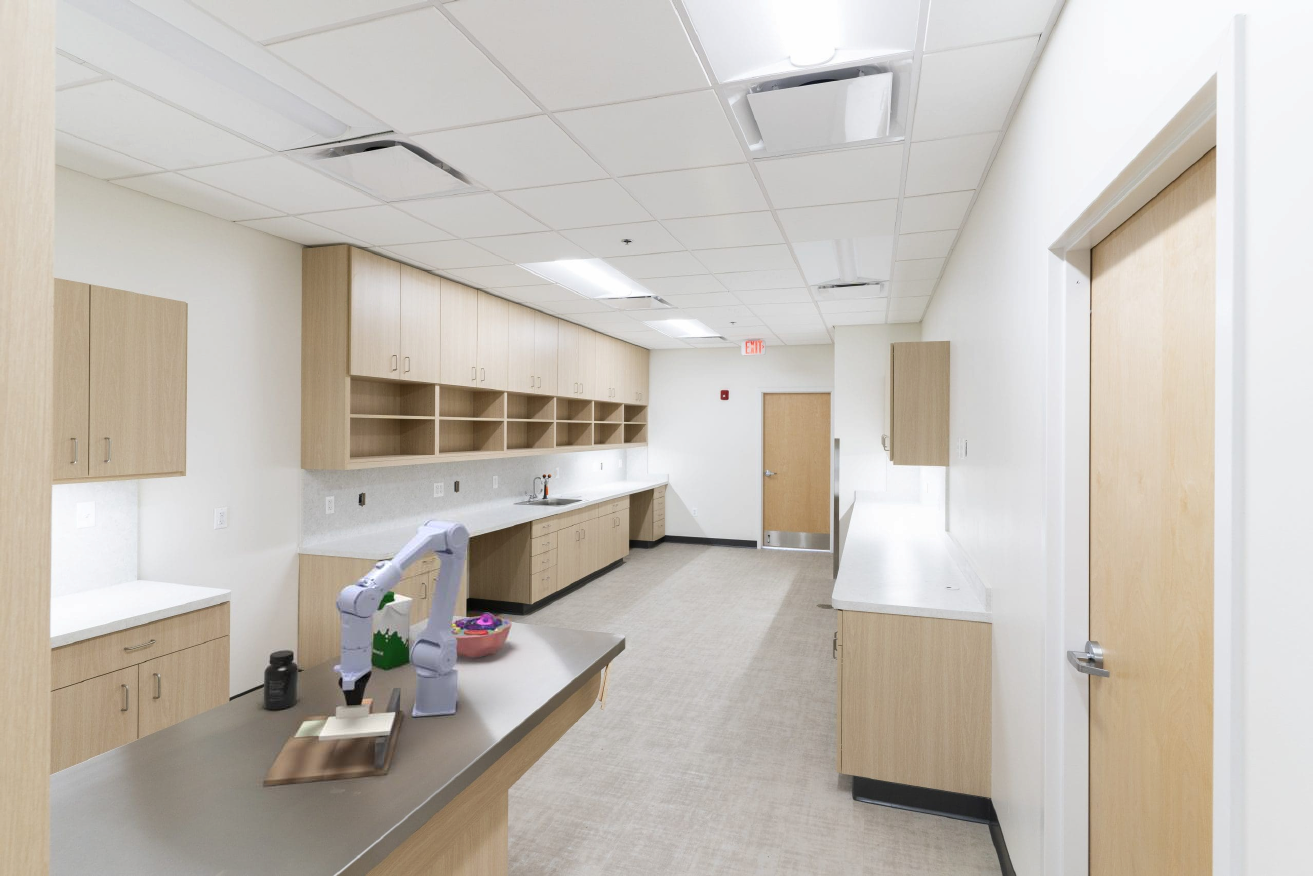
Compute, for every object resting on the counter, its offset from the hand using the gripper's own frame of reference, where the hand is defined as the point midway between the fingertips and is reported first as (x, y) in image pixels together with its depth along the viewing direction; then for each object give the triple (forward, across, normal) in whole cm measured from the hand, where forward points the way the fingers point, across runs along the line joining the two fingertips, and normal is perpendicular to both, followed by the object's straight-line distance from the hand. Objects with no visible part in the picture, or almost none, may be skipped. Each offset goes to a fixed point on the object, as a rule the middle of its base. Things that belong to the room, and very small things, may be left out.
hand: (354, 710), depth 130 cm
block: (+8, -8, 0) cm, 11 cm away
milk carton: (+8, -46, +1) cm, 47 cm away
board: (+8, -1, -2) cm, 8 cm away
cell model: (+8, -50, +24) cm, 56 cm away
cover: (+1, +5, +2) cm, 6 cm away
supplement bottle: (+8, -24, -20) cm, 32 cm away
